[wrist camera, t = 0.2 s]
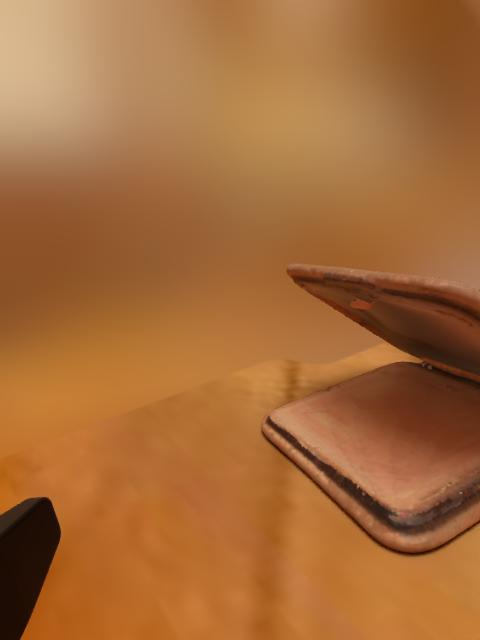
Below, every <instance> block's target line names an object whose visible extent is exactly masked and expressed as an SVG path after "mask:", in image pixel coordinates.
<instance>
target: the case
mask: <svg viewBox="0 0 480 640" xmlns="http://www.w3.org/2000/svg"><path fill="white" fill-rule="evenodd" d="M287 274H288V275H289V276H290V277H291V278H292V279H293V280H294V282H295V283H296V284H297V285H298V286H300V287H301V288H303V289H304V290H306V291H307V292H309V293H310V294H312V295H313V296H314V297H316V298H318V299H320V300H321V301H323V302H325V303H326V304H328V305H329V306H331V307H333V308H334V309H335V310H337V311H339V312H341V313H342V314H344V315H345V316H346V317H348V318H350V319H352V320H353V321H355V322H356V323H358V324H359V325H361V326H362V327H365V328H366V329H367V330H369V331H371V332H372V333H373V334H375V335H377V336H379V337H380V338H382V339H384V340H385V341H387V342H388V343H390V344H391V345H393V346H395V347H396V348H398V349H400V350H402V351H404V352H406V353H408V354H410V355H413V356H415V357H417V358H419V359H421V360H423V361H424V362H421V363H413V362H396V363H392V364H389V365H386V366H383V367H380V368H378V369H375V370H373V371H371V372H368V373H365V374H362V375H360V376H358V377H355V378H352V379H350V380H347V381H344V382H342V383H339V384H337V385H334V386H331V387H329V388H326V389H324V390H321V391H319V392H317V393H314V394H311V395H309V396H306V397H304V398H301V399H299V400H296V401H293V402H291V403H288V404H286V405H283V406H281V407H278V408H276V409H274V410H273V411H272V412H270V413H269V414H267V415H266V416H265V417H264V418H263V420H262V422H261V428H262V431H263V433H264V434H265V436H266V437H267V438H268V439H269V440H270V441H271V442H272V443H273V444H275V445H276V446H277V447H278V448H279V449H280V450H281V451H282V452H283V453H285V454H286V455H287V456H288V457H289V458H291V459H292V460H293V461H294V462H295V463H296V464H297V465H298V466H299V467H300V468H301V469H302V470H303V471H305V472H306V473H307V474H308V475H309V476H310V477H311V478H312V479H313V480H314V481H315V482H316V483H317V484H318V485H320V487H321V488H322V489H323V490H324V491H325V492H327V493H328V494H329V495H330V496H331V497H332V498H333V499H334V500H335V501H336V502H337V503H338V504H339V505H340V506H341V507H342V508H343V509H344V510H345V511H346V512H347V513H349V514H350V515H351V516H352V517H353V518H354V519H355V520H356V521H357V522H358V523H359V524H360V525H361V526H362V527H363V528H364V529H365V530H366V531H367V532H368V533H369V534H370V535H371V536H373V537H374V538H375V539H376V540H377V541H379V542H380V543H382V544H384V545H385V546H387V547H389V548H392V549H395V550H398V551H402V552H410V553H416V552H423V551H427V550H431V549H433V548H436V547H438V546H440V545H442V544H444V543H446V542H448V541H449V540H451V539H452V538H454V537H455V536H456V535H458V534H460V533H461V532H463V531H464V530H466V529H467V528H469V527H470V526H472V525H473V524H475V523H476V522H478V521H479V520H480V291H479V290H477V289H474V288H472V287H470V286H467V285H465V284H462V283H458V282H454V281H451V280H446V279H439V278H431V277H424V276H415V275H406V274H396V273H386V272H376V271H366V270H357V269H349V268H338V267H329V266H318V265H306V264H291V265H289V266H288V267H287Z"/></svg>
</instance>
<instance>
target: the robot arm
mask: <svg viewBox="0 0 480 640" xmlns="http://www.w3.org/2000/svg"><path fill="white" fill-rule="evenodd" d="M60 537H61V529H60V525H59V522H58V519H57V517H56V514H55V511H54V508H53V505H52V502H51V501H50V499H49V498H46V497H37V498H29V499H26V500H25V501H23V502H21V503H20V504H18V505H16V506H15V507H13V508H12V509H10V510H8V511H7V512H5V513H3V514H2V515H0V640H20V639H21V637H22V635H23V633H24V630H25V628H26V626H27V624H28V622H29V619H30V617H31V615H32V612H33V610H34V607H35V605H36V602H37V599H38V597H39V594H40V592H41V589H42V586H43V584H44V581H45V578H46V576H47V573H48V571H49V568H50V565H51V563H52V560H53V557H54V555H55V552H56V549H57V547H58V544H59V541H60Z"/></svg>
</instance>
